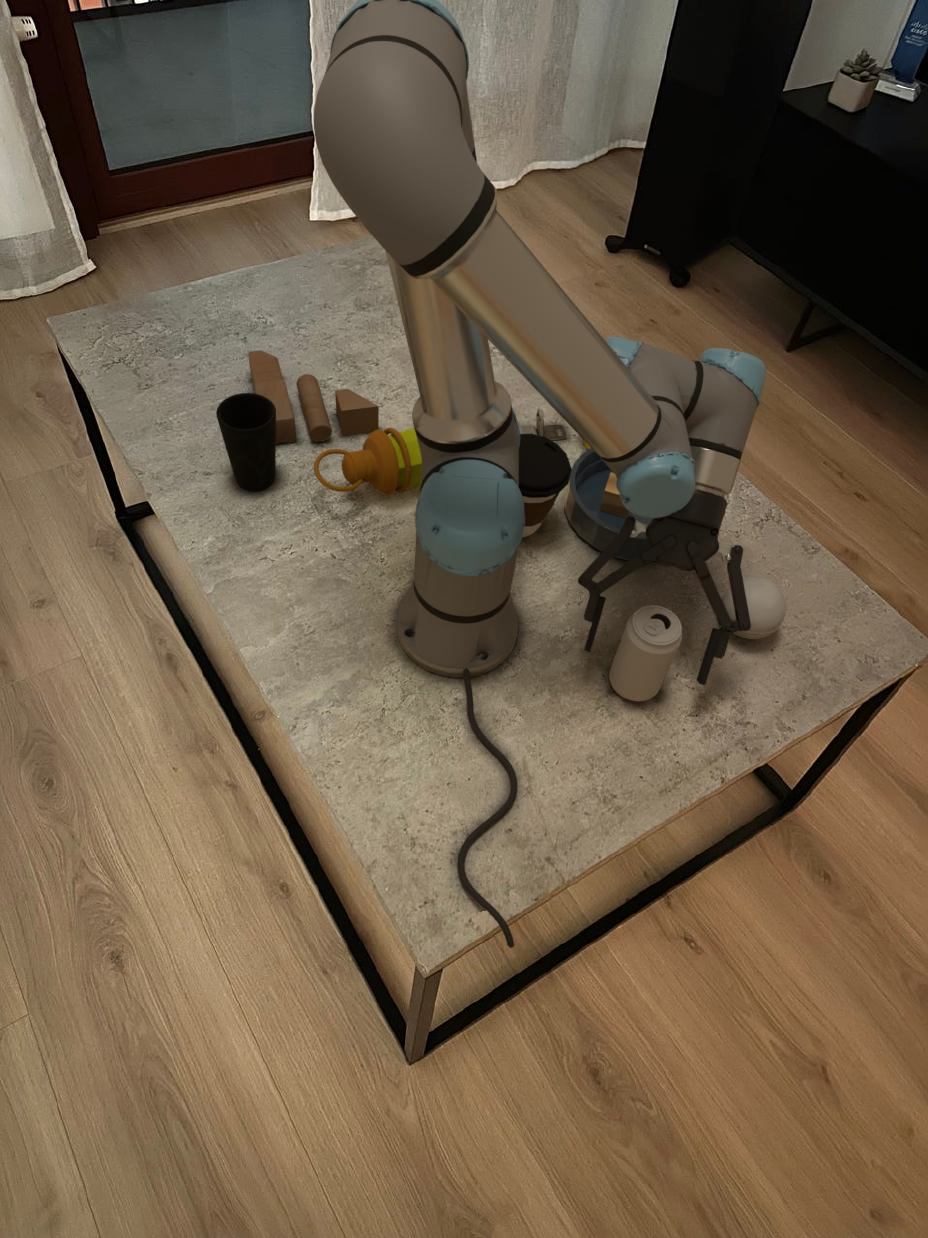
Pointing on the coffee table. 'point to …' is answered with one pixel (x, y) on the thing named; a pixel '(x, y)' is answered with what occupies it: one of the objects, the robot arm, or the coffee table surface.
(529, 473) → the coffee cup
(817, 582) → the coffee table surface
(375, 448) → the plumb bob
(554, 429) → the strap clip
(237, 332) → the coffee table surface
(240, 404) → the cup
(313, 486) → the coffee table surface
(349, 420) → the wooden block set
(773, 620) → the bath bomb
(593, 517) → the bowl
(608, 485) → the block
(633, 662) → the beverage can
